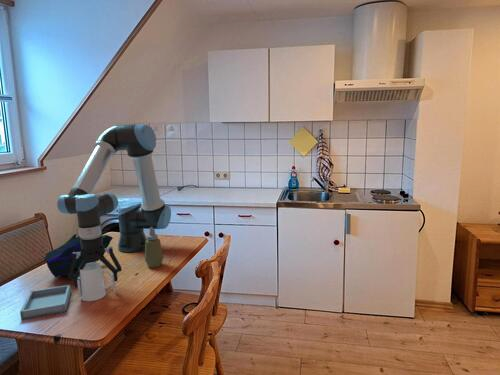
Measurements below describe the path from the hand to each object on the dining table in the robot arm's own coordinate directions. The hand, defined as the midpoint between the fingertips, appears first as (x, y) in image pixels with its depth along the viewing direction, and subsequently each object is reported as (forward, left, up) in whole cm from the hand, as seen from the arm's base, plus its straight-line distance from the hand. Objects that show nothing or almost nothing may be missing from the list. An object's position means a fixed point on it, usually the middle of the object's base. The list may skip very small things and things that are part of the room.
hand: (97, 292), depth 141 cm
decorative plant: (+6, -25, -2) cm, 26 cm away
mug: (0, 0, -2) cm, 2 cm away
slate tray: (+17, 0, -2) cm, 17 cm away
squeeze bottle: (-23, -22, -2) cm, 32 cm away
